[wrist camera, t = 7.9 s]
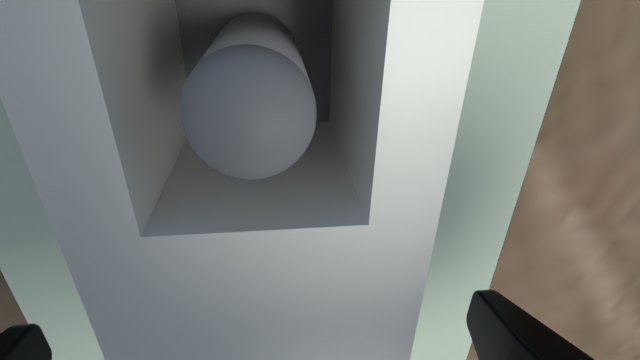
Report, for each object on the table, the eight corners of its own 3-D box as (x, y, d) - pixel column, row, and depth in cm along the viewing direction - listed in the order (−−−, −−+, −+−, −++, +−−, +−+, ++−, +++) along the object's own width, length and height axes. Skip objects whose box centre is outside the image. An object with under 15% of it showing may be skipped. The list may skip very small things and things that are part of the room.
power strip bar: (394, -127, 7) (530, -225, 3) (346, 409, 14) (370, 549, 11) (88, -141, 6) (-150, -279, 3) (210, 423, 14) (191, 576, 10)
